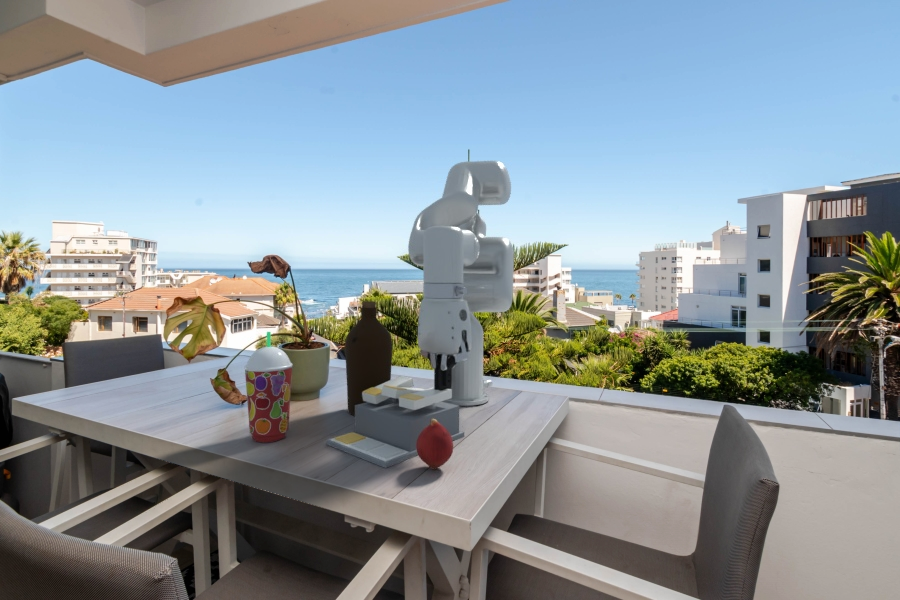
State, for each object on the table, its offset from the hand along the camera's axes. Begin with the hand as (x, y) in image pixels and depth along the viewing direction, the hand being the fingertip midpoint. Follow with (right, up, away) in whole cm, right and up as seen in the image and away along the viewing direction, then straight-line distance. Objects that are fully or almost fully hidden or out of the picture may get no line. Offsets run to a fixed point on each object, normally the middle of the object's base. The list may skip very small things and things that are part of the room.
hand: (442, 389), depth 87 cm
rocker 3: (-3, -2, -3) cm, 5 cm away
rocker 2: (-7, -2, 0) cm, 7 cm away
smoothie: (-33, -9, -1) cm, 34 cm away
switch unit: (-8, -9, -2) cm, 13 cm away
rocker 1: (-11, -2, +3) cm, 11 cm away
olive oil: (-17, -9, +18) cm, 26 cm away
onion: (-1, -10, -14) cm, 18 cm away
